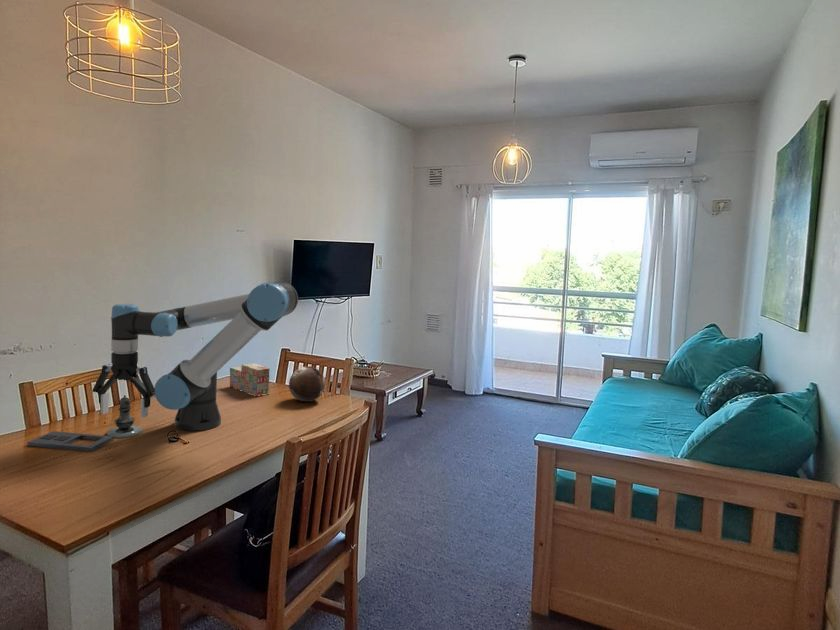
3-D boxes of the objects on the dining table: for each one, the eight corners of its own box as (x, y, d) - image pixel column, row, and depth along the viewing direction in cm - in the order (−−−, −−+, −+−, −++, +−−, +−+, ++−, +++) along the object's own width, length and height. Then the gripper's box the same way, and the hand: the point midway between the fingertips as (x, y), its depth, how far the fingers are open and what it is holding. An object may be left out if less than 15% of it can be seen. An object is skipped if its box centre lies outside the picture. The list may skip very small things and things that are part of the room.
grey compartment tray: (113, 440, 163) (113, 436, 163) (91, 451, 153) (91, 447, 153) (53, 434, 164) (53, 430, 164) (27, 445, 154) (27, 441, 154)
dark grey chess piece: (125, 434, 166) (125, 398, 165) (110, 431, 167) (110, 396, 166) (138, 428, 172) (139, 393, 171) (123, 426, 173) (123, 391, 172)
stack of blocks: (229, 387, 234) (229, 360, 233) (241, 385, 239) (242, 359, 237) (256, 397, 221) (257, 369, 219) (268, 395, 226) (269, 367, 224)
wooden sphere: (280, 400, 218) (282, 366, 216) (307, 394, 230) (308, 361, 229) (305, 408, 209) (306, 372, 208) (331, 401, 222) (333, 367, 220)
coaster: (147, 429, 175) (147, 426, 174) (129, 439, 165) (129, 436, 165) (119, 426, 175) (119, 424, 175) (99, 436, 165) (99, 434, 165)
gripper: (168, 352, 170) (167, 414, 172) (96, 346, 171) (96, 408, 174) (155, 356, 163) (154, 421, 165) (79, 350, 164) (80, 415, 166)
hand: (124, 415), depth 169 cm, fingers open, 13 cm apart
